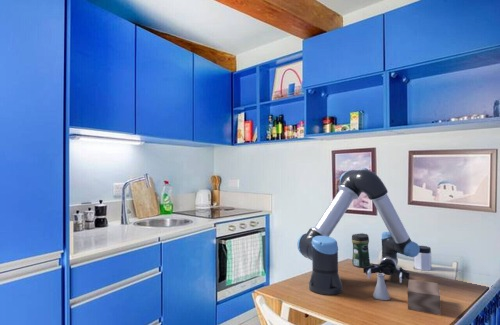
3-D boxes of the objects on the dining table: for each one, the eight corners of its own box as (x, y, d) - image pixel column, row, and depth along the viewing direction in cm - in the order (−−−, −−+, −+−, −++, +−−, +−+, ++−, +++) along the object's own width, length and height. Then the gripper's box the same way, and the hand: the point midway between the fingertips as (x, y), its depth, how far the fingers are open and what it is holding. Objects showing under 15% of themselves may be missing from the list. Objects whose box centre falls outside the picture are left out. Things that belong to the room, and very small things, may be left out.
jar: (435, 269, 175) (434, 248, 175) (424, 271, 172) (424, 249, 173) (421, 265, 183) (420, 244, 184) (411, 267, 180) (410, 246, 181)
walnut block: (407, 309, 123) (407, 291, 124) (409, 295, 137) (408, 279, 138) (440, 314, 118) (440, 295, 118) (438, 300, 132) (438, 283, 132)
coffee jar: (362, 263, 190) (361, 232, 191) (372, 266, 183) (371, 234, 183) (349, 264, 186) (349, 233, 187) (359, 268, 179) (358, 235, 179)
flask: (392, 301, 131) (391, 277, 131) (374, 300, 132) (373, 276, 133) (388, 295, 138) (387, 272, 139) (371, 294, 140) (370, 271, 140)
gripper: (415, 276, 156) (415, 290, 138) (362, 269, 168) (355, 281, 149) (415, 261, 157) (414, 272, 138) (362, 255, 168) (355, 265, 150)
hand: (383, 277), depth 144 cm, fingers open, 13 cm apart
